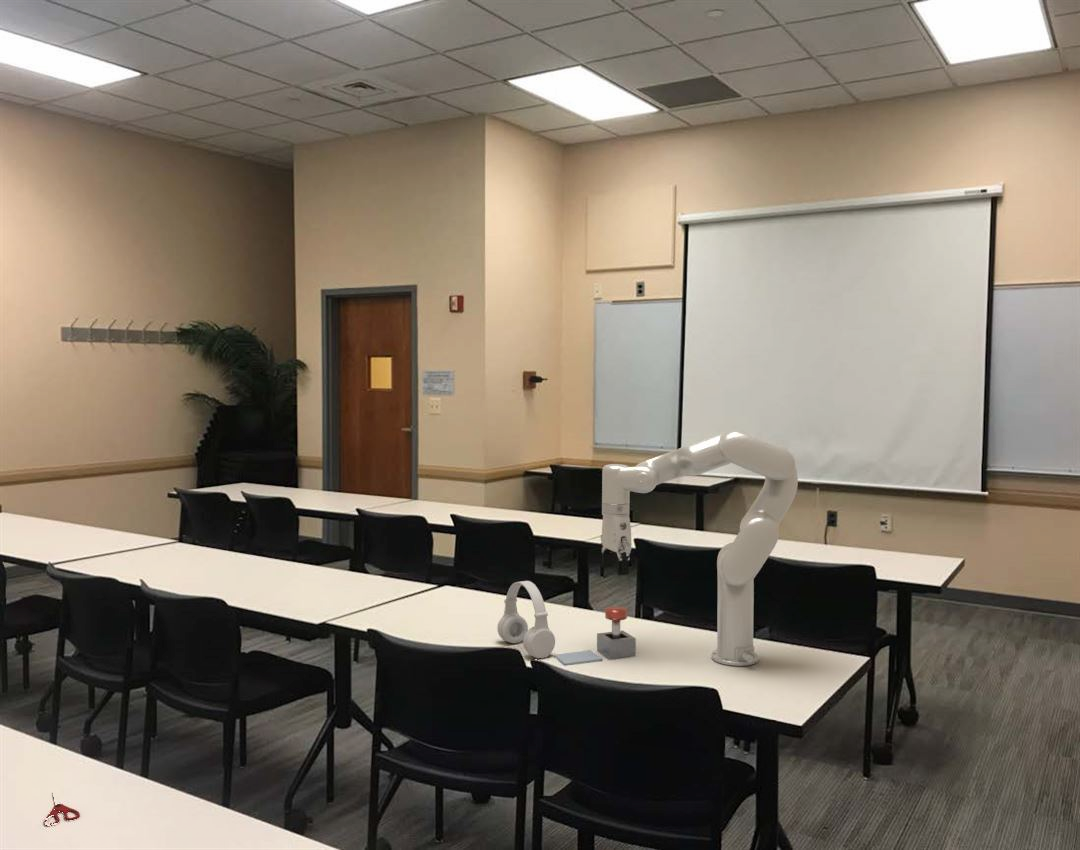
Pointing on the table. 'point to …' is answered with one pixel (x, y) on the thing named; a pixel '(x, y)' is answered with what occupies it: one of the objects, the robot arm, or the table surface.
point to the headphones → (516, 628)
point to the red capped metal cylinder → (616, 618)
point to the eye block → (616, 645)
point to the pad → (578, 657)
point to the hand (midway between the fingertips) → (615, 570)
